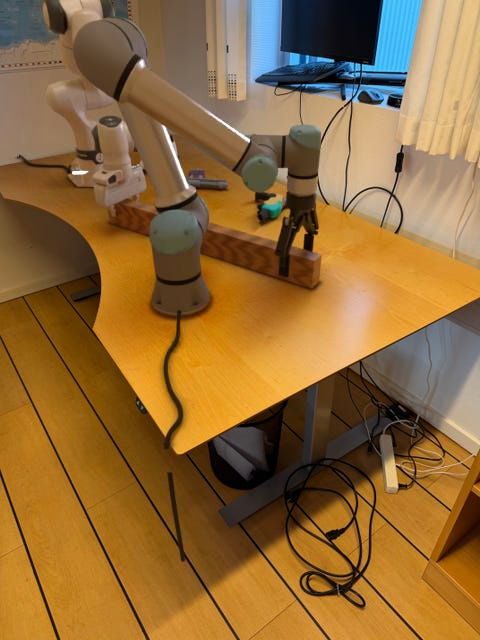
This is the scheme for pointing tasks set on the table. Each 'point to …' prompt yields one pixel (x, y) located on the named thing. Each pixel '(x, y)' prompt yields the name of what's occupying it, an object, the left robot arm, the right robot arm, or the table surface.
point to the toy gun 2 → (269, 205)
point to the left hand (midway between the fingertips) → (125, 211)
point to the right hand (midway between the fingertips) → (295, 265)
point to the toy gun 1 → (204, 180)
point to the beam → (230, 245)
